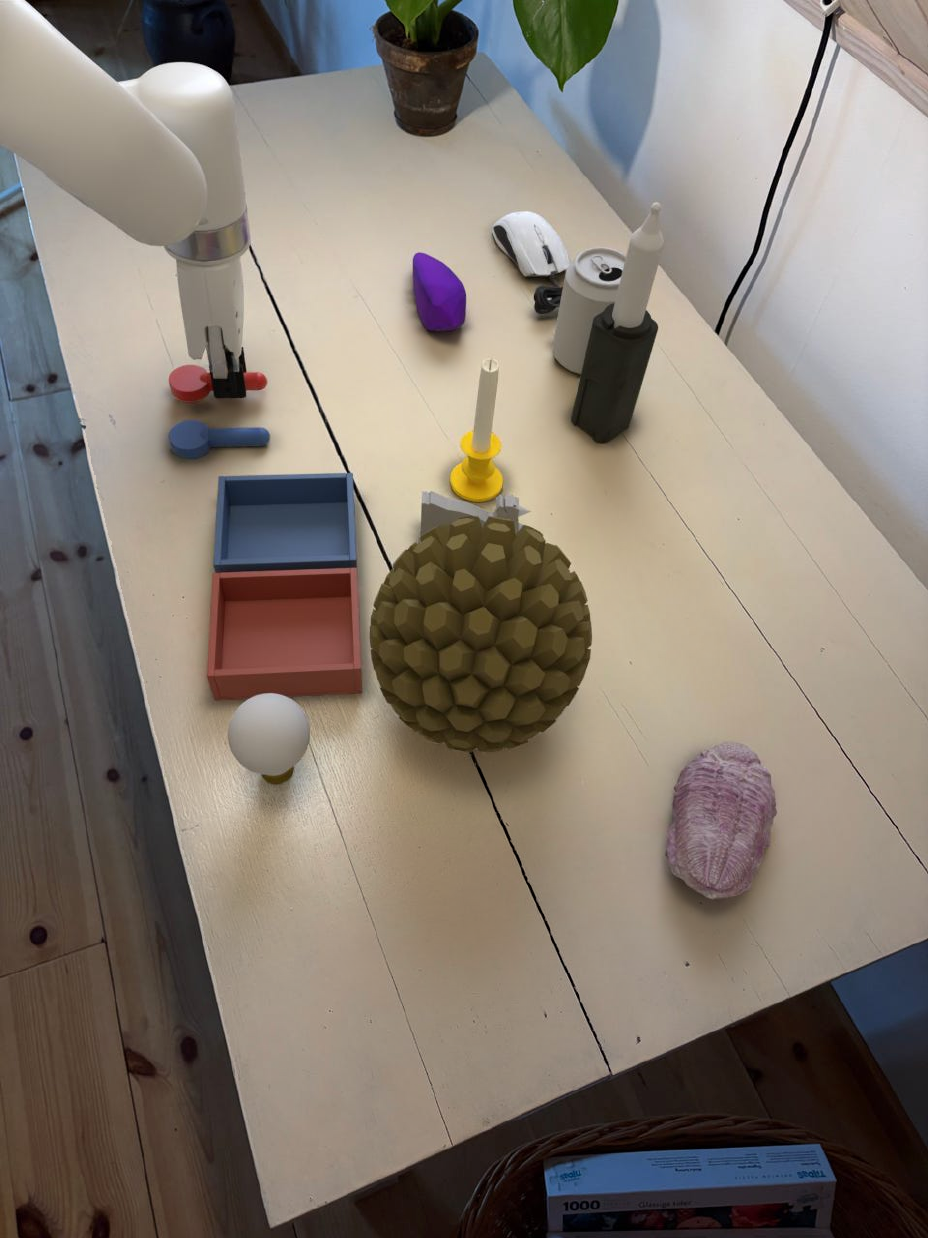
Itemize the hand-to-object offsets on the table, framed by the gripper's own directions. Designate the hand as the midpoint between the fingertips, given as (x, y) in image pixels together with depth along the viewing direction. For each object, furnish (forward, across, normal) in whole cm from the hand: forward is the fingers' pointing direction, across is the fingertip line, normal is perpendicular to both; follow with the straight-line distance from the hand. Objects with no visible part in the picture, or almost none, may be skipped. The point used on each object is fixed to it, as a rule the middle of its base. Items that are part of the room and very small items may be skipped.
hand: (231, 386), depth 97 cm
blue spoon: (+1, +7, -1) cm, 7 cm away
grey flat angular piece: (+1, +20, +23) cm, 30 cm away
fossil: (+2, +50, +39) cm, 63 cm away
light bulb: (+2, +43, +5) cm, 43 cm away
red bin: (+1, +31, +6) cm, 31 cm away
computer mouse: (+1, -21, +35) cm, 41 cm away
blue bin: (+1, +20, +6) cm, 21 cm away
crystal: (+1, -14, +22) cm, 26 cm away
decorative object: (+2, +37, +21) cm, 42 cm away
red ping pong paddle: (0, 0, -1) cm, 1 cm away
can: (+1, -5, +38) cm, 38 cm away
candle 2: (+1, +5, +38) cm, 38 cm away
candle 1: (+1, +13, +24) cm, 27 cm away
